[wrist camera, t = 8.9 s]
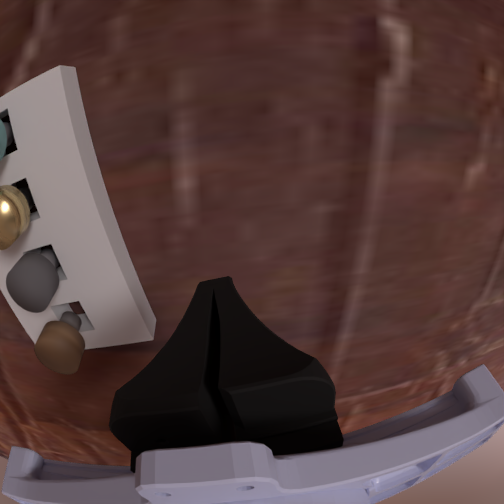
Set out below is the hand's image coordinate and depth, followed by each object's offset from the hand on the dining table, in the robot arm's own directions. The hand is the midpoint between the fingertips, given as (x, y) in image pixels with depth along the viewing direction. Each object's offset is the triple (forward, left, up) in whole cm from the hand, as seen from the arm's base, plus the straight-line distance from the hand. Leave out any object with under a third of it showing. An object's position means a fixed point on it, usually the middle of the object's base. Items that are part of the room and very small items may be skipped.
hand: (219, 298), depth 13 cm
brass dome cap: (+5, +13, -8) cm, 16 cm away
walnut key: (-5, +13, -7) cm, 16 cm away
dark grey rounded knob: (0, +13, -8) cm, 15 cm away
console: (+2, +13, -10) cm, 16 cm away
